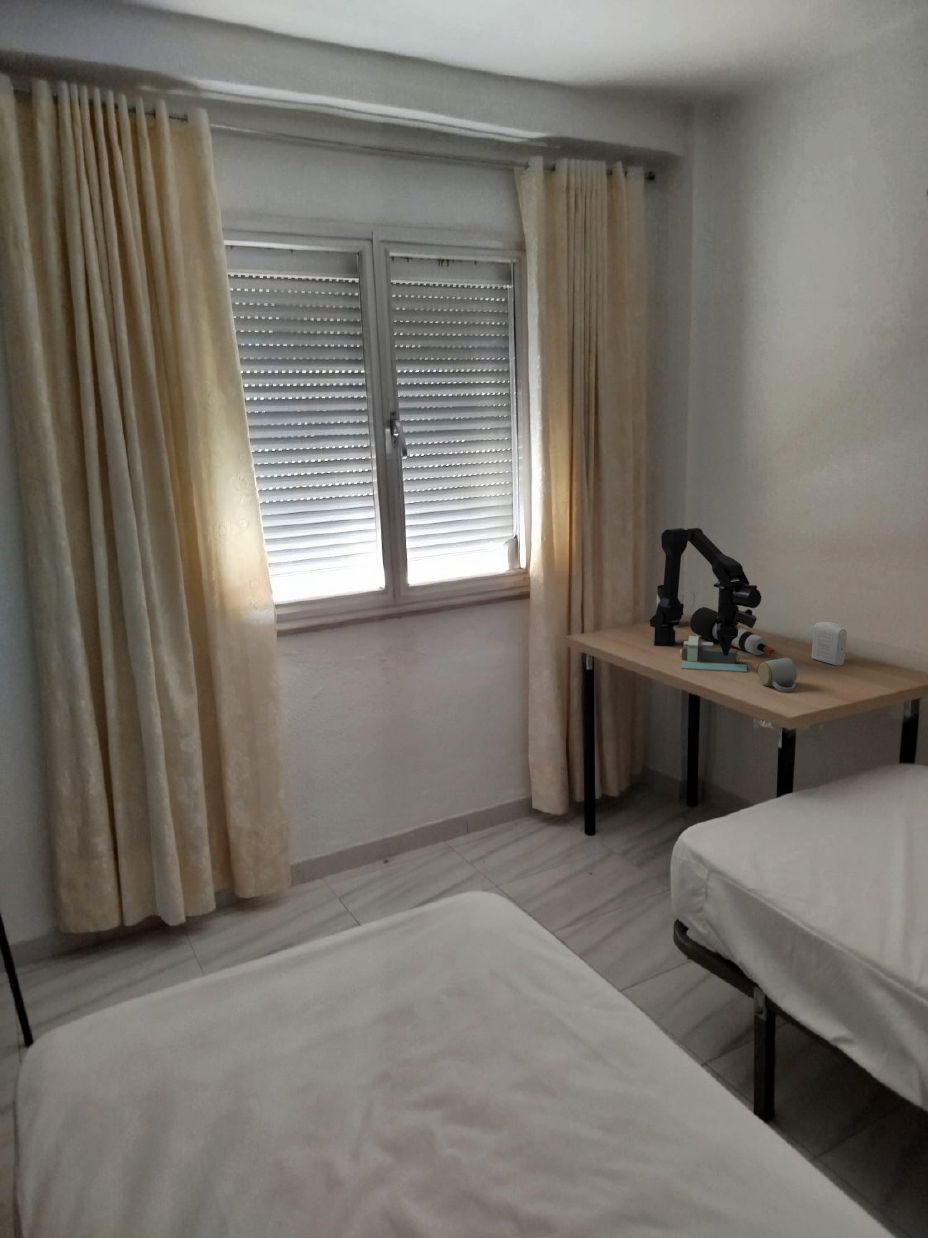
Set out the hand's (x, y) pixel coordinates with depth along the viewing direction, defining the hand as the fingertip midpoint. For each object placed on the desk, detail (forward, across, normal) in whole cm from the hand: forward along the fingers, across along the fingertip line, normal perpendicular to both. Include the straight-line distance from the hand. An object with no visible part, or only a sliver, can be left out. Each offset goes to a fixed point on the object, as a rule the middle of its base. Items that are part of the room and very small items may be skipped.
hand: (725, 651), depth 249 cm
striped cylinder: (+4, +19, -3) cm, 19 cm away
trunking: (+3, +6, +8) cm, 11 cm away
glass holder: (+3, +46, +18) cm, 49 cm away
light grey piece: (+3, +3, +10) cm, 11 cm away
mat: (+3, -8, +3) cm, 9 cm away
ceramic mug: (+3, -24, -14) cm, 28 cm away
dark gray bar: (+3, 0, +5) cm, 6 cm away
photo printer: (+3, +6, -30) cm, 31 cm away
